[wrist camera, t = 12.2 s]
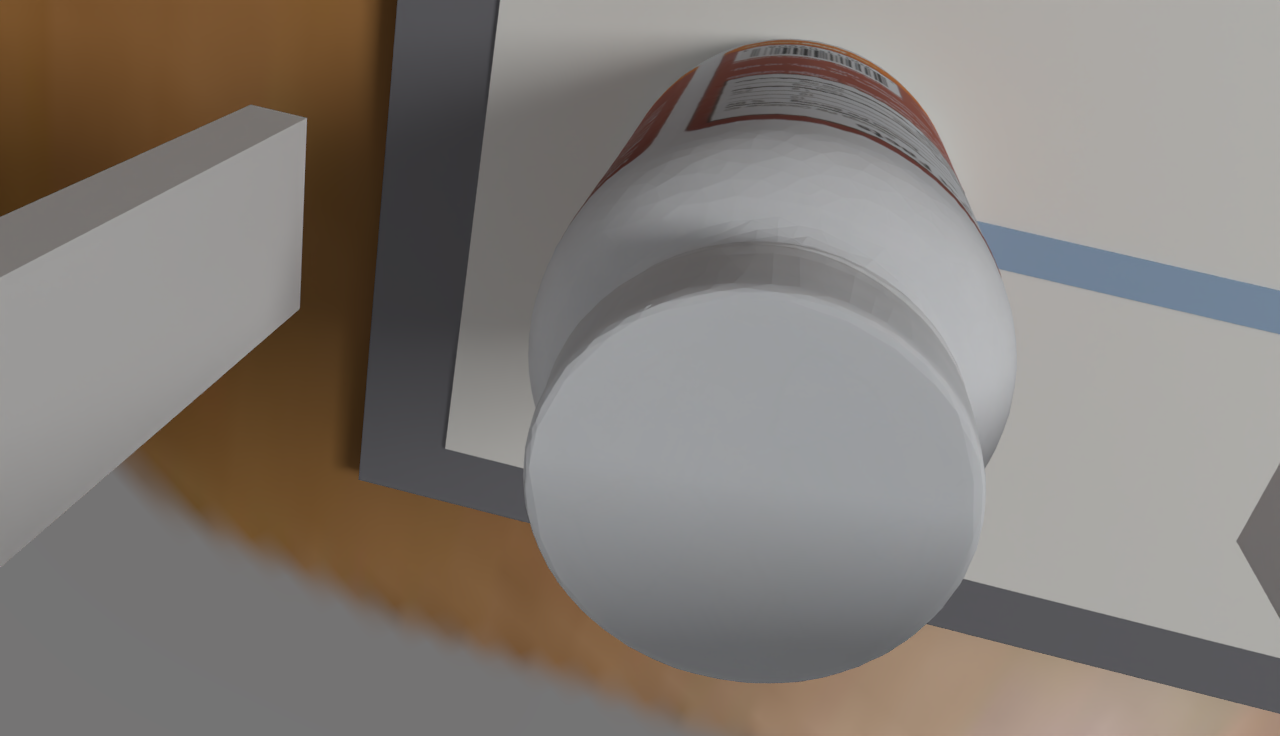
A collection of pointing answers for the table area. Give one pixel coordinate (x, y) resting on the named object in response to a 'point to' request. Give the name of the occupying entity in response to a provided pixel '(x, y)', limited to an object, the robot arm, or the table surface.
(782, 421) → the pill bottle
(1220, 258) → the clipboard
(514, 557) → the table surface
